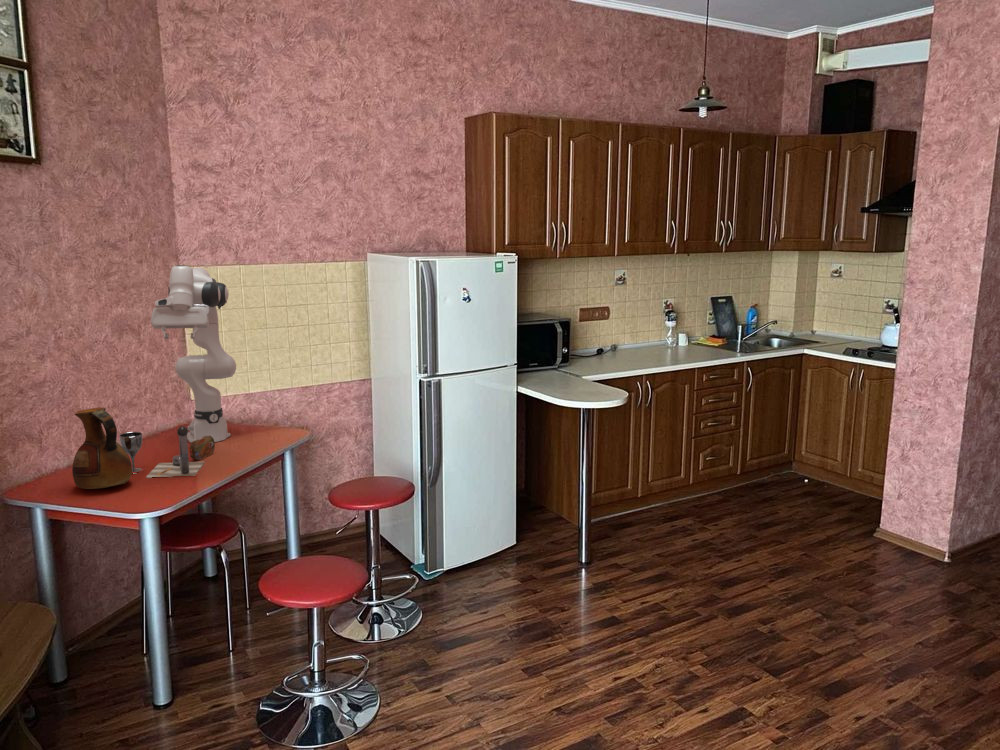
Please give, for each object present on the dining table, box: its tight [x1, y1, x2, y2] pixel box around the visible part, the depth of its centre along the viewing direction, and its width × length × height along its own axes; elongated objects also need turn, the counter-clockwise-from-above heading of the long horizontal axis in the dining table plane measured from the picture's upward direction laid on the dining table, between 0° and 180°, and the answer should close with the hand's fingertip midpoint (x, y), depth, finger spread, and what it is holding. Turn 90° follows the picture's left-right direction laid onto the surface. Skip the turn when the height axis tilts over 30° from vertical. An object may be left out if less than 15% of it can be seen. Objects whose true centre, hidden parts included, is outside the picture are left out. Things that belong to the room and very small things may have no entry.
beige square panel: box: [145, 461, 206, 479], centre depth 306 cm, size 18×18×1 cm
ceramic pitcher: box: [71, 406, 133, 490], centre depth 283 cm, size 20×20×30 cm
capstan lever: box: [172, 425, 190, 473], centre depth 305 cm, size 19×6×18 cm, turn 29°
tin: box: [189, 436, 216, 461], centre depth 323 cm, size 15×3×8 cm, turn 168°
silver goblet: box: [119, 431, 143, 473], centre depth 303 cm, size 8×8×15 cm
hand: (179, 338), depth 288 cm, fingers open, 8 cm apart
